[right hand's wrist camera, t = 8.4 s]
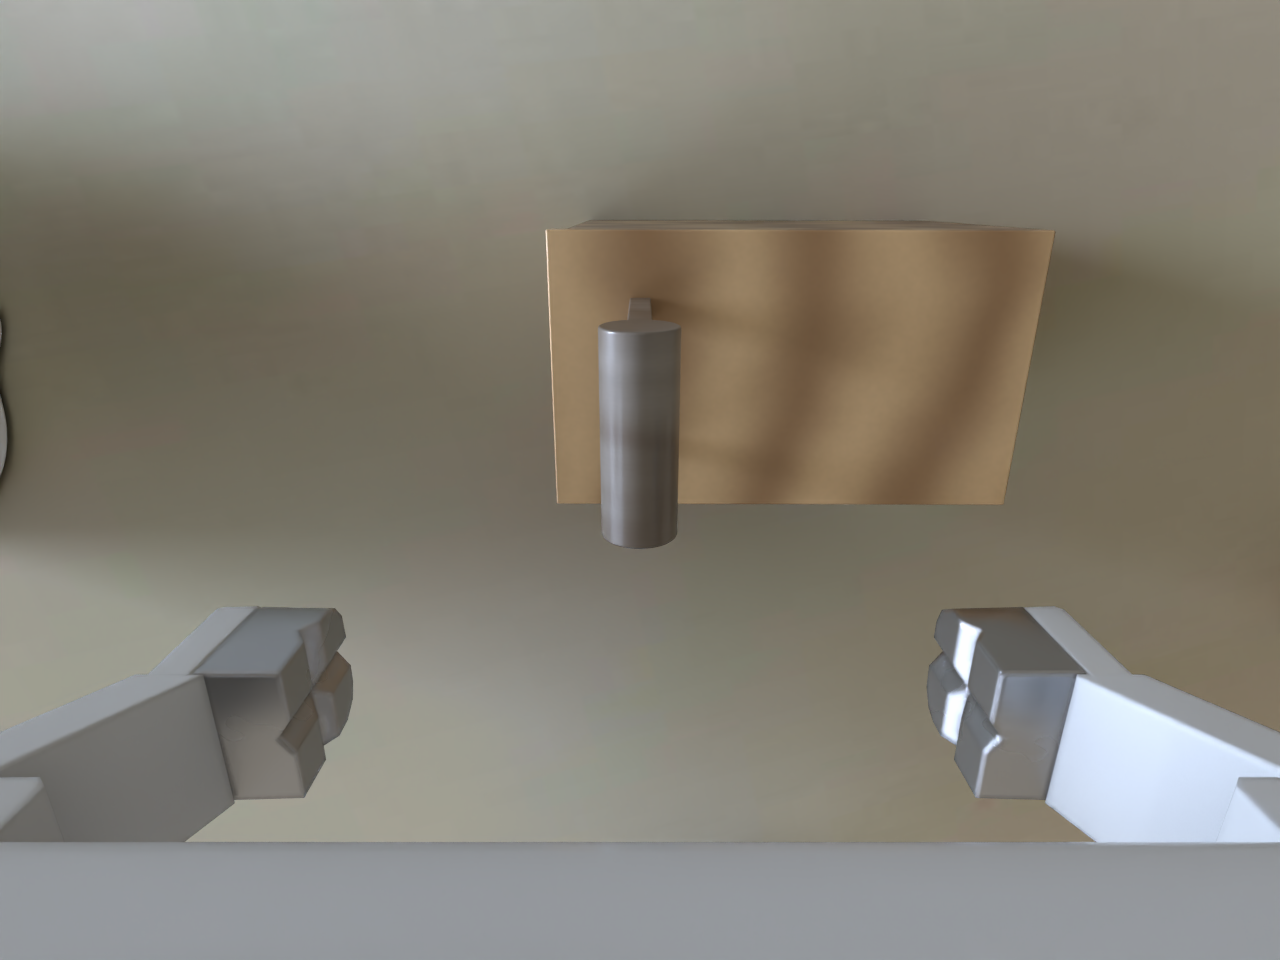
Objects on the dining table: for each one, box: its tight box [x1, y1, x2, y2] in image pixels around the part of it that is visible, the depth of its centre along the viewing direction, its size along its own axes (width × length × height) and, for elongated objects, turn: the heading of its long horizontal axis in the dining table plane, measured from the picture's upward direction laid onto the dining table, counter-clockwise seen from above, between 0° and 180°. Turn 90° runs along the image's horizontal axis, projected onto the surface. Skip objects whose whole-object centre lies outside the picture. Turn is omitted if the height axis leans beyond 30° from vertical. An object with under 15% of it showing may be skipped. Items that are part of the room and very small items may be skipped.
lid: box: [546, 229, 1055, 549], centre depth 22 cm, size 16×10×9 cm, turn 90°
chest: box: [568, 220, 1039, 230], centre depth 31 cm, size 16×10×11 cm, turn 90°
